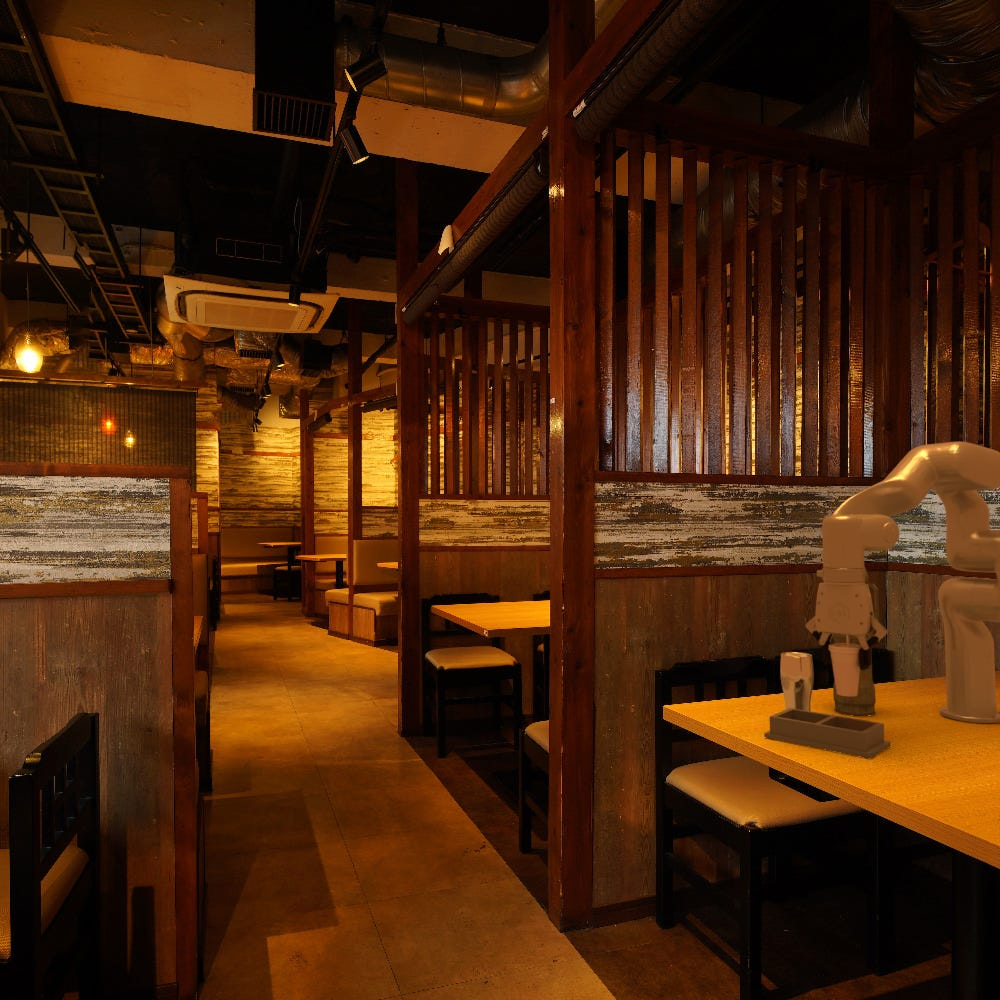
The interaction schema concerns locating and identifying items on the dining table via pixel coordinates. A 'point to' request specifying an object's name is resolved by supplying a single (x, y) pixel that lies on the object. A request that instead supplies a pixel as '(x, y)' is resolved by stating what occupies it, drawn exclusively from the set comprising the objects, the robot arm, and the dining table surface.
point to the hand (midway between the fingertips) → (846, 666)
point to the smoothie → (845, 667)
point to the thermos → (866, 690)
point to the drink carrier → (828, 732)
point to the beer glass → (797, 679)
